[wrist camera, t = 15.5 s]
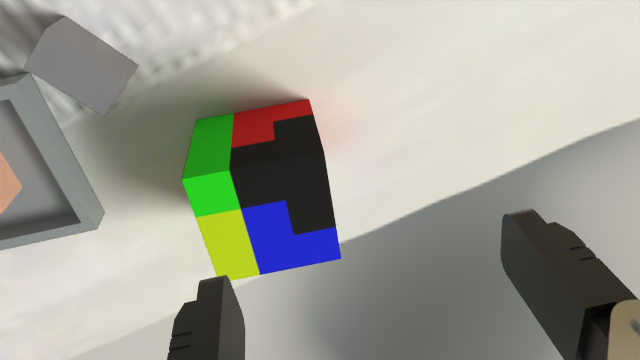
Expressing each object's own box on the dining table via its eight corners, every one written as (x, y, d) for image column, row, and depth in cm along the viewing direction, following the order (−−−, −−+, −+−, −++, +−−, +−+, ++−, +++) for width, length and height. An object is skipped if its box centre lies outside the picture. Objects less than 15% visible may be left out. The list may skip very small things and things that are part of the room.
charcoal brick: (44, 51, 36) (23, 67, 32) (66, 15, 34) (46, 28, 31) (117, 97, 38) (103, 116, 35) (139, 64, 37) (127, 81, 34)
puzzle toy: (324, 191, 46) (341, 258, 37) (225, 211, 45) (219, 282, 37) (308, 98, 40) (324, 152, 32) (196, 119, 40) (181, 179, 32)
